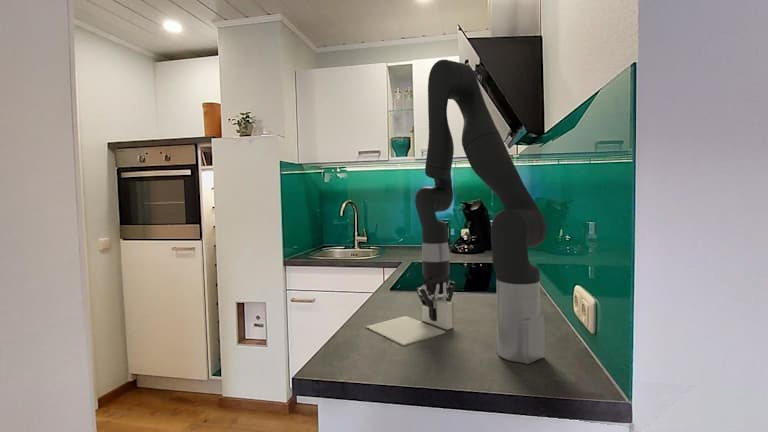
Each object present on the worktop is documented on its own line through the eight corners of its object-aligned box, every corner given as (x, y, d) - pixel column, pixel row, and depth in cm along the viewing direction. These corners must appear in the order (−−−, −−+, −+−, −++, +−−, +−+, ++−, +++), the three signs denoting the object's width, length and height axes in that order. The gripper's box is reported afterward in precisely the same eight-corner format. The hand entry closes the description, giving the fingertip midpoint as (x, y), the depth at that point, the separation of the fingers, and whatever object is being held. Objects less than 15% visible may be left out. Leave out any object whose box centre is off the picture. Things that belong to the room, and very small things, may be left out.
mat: (445, 332, 106) (445, 331, 106) (403, 346, 98) (403, 344, 98) (405, 317, 120) (405, 315, 120) (366, 327, 112) (366, 326, 112)
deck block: (453, 327, 109) (452, 302, 109) (446, 329, 108) (446, 304, 107) (429, 318, 117) (428, 295, 117) (422, 320, 116) (421, 296, 116)
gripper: (425, 263, 104) (427, 328, 105) (463, 256, 112) (464, 317, 113) (407, 260, 111) (409, 321, 112) (444, 254, 119) (446, 311, 120)
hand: (437, 319), depth 113 cm, fingers closed on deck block, 2 cm apart
